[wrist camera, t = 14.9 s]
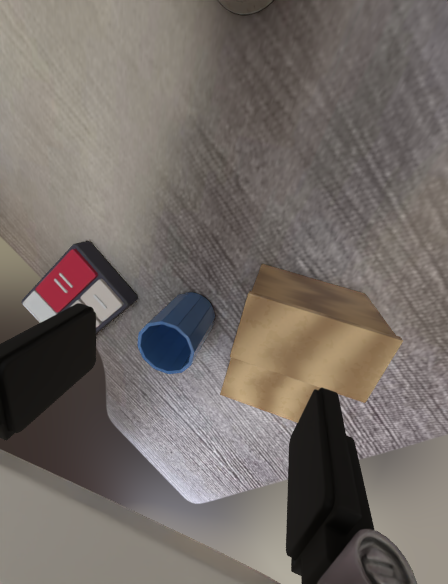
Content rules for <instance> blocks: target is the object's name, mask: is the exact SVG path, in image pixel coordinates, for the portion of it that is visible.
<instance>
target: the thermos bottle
mask: <svg viewBox="0 0 448 584" xmlns="http://www.w3.org/2000/svg"><path fill="white" fill-rule="evenodd" d="M218 1H219V2H220V3H221V4H222V5H223V6H224V7H225V8H226V9H228V10H230V11H231V12H233V13H237V14H241V15H242V14H252V13H255V12H258V11H260V10H262V9H263V8H265V7H266V6H268V5H269V4H270V3H271V2H272V1H273V0H218Z"/></svg>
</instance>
